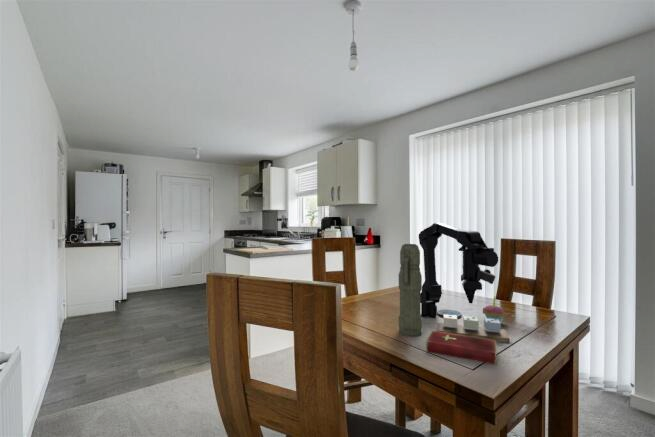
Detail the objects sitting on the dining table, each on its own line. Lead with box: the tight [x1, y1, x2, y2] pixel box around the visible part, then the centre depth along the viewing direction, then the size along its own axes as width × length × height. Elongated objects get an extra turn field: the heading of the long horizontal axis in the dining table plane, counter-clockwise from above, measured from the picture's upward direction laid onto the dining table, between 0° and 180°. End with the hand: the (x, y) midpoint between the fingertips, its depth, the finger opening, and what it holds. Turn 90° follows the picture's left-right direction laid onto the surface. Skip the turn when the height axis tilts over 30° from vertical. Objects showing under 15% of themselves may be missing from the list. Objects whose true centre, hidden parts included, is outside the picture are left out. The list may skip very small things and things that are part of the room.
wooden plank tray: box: [436, 322, 511, 343], centre depth 124 cm, size 25×10×2 cm, turn 70°
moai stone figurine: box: [398, 243, 423, 338], centre depth 125 cm, size 9×12×35 cm
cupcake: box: [482, 295, 505, 322], centre depth 138 cm, size 9×8×12 cm
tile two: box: [462, 315, 480, 329], centre depth 124 cm, size 5×5×3 cm
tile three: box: [483, 317, 502, 331], centre depth 121 cm, size 5×5×3 cm
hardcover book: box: [425, 330, 498, 366], centre depth 108 cm, size 12×21×4 cm, turn 63°
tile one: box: [443, 313, 458, 327], centre depth 126 cm, size 5×5×3 cm
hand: (470, 303), depth 124 cm, fingers closed
